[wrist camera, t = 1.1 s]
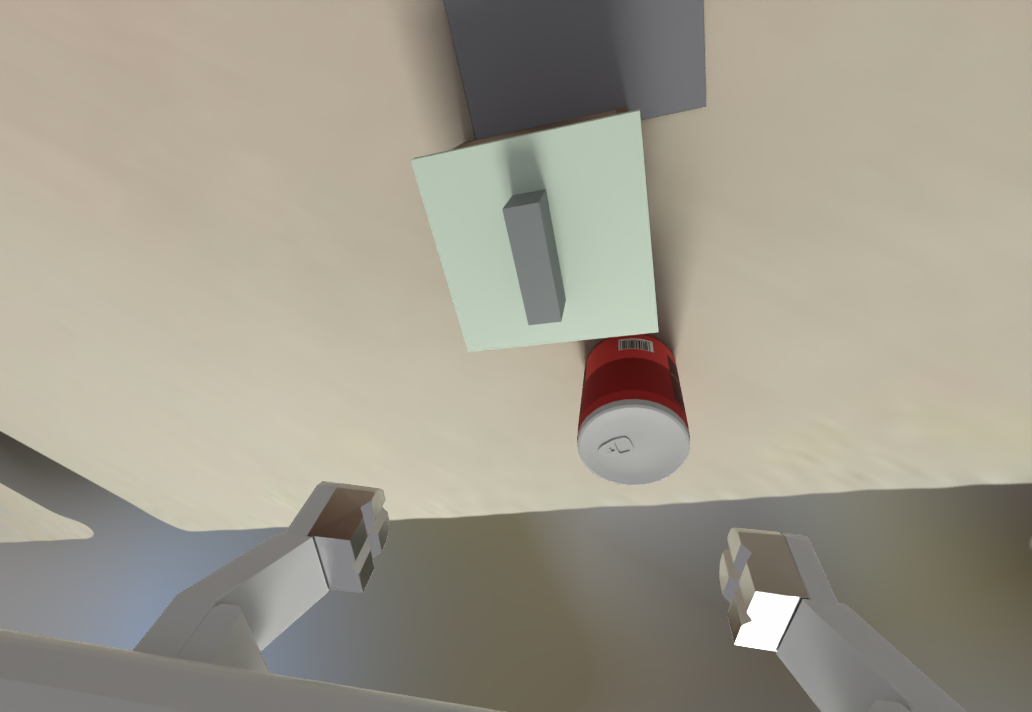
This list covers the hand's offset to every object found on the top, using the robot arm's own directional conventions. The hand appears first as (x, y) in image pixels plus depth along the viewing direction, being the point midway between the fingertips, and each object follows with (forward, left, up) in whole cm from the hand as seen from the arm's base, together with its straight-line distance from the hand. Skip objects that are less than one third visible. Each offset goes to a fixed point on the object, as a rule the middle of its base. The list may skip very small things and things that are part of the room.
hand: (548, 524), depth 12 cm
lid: (+3, 0, -23) cm, 23 cm away
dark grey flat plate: (0, -13, -31) cm, 33 cm away
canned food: (-1, +15, -31) cm, 35 cm away
